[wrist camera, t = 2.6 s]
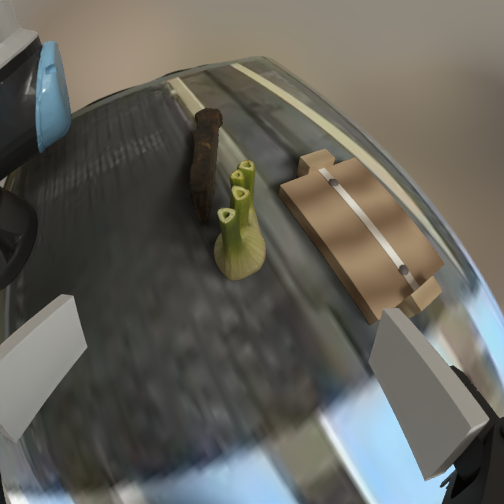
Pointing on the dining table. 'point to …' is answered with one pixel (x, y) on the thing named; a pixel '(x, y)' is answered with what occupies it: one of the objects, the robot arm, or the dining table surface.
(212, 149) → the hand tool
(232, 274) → the fennel bulb
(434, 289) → the tan wooden board
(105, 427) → the dining table surface
